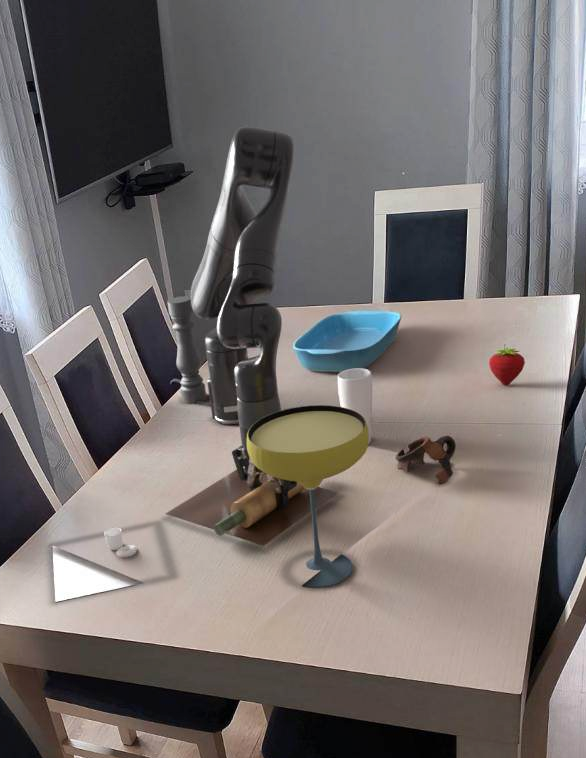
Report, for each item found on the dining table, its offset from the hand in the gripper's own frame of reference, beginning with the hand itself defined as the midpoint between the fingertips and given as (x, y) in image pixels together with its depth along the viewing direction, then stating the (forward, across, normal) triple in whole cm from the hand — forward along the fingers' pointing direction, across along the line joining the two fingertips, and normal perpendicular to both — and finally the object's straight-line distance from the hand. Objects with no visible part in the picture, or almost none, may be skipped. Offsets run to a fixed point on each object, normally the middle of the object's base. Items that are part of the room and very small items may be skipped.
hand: (270, 504), depth 159 cm
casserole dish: (+2, +36, -78) cm, 86 cm away
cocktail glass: (+2, -19, +11) cm, 22 cm away
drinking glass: (+2, +3, -33) cm, 33 cm away
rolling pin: (+1, 0, 0) cm, 1 cm away
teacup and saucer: (+2, +15, +27) cm, 31 cm away
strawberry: (+2, -10, -72) cm, 73 cm away
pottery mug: (+2, -17, -27) cm, 32 cm away
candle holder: (+2, +55, -38) cm, 67 cm away
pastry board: (+2, +5, 0) cm, 5 cm away
